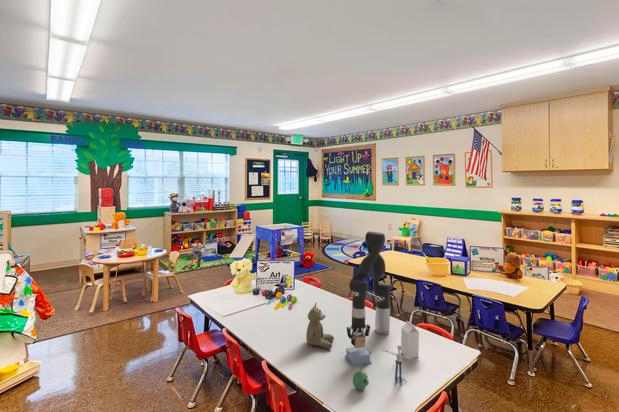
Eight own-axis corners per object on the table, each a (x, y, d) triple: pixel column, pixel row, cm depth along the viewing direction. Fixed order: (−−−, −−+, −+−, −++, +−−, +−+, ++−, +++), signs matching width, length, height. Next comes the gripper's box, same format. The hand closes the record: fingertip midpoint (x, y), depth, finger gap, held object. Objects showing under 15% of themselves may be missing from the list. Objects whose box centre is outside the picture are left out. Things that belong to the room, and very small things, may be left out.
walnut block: (351, 343, 180) (351, 334, 179) (360, 342, 181) (360, 332, 181) (355, 348, 174) (355, 338, 174) (364, 346, 176) (365, 337, 176)
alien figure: (421, 385, 155) (422, 347, 154) (418, 391, 150) (419, 352, 149) (382, 372, 166) (383, 336, 165) (378, 377, 162) (379, 340, 161)
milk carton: (407, 359, 179) (408, 326, 178) (400, 352, 186) (401, 321, 185) (418, 357, 181) (419, 325, 180) (411, 351, 188) (412, 319, 187)
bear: (330, 354, 184) (331, 312, 183) (303, 351, 188) (304, 310, 186) (334, 337, 205) (335, 300, 203) (310, 335, 208) (311, 297, 206)
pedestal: (344, 356, 182) (345, 347, 182) (362, 353, 185) (362, 344, 185) (353, 366, 171) (353, 357, 171) (371, 363, 175) (371, 354, 174)
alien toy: (367, 395, 148) (367, 374, 147) (351, 391, 151) (351, 371, 150) (369, 386, 154) (370, 366, 154) (354, 382, 157) (354, 363, 157)
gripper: (367, 310, 183) (366, 339, 183) (344, 313, 178) (343, 342, 179) (373, 316, 175) (372, 345, 176) (349, 319, 171) (349, 349, 172)
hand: (358, 344), depth 178 cm, fingers closed on walnut block, 5 cm apart
